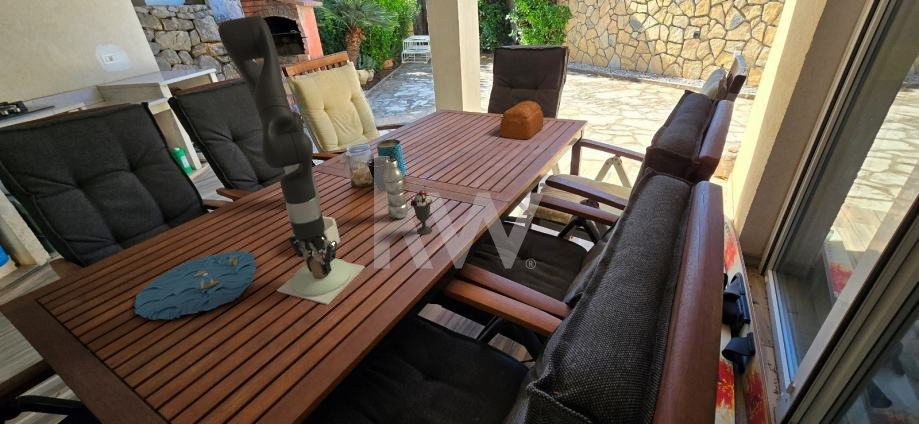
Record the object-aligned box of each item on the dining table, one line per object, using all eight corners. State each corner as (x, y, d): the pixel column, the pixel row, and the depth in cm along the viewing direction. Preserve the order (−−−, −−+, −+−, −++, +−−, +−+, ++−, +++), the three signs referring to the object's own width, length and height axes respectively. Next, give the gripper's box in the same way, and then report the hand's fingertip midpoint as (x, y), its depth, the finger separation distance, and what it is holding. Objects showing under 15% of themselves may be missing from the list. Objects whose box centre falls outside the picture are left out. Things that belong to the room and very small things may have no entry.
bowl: (292, 249, 120) (287, 232, 117) (317, 230, 129) (313, 214, 126) (323, 255, 116) (318, 238, 113) (346, 236, 125) (343, 219, 122)
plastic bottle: (405, 221, 131) (397, 164, 122) (386, 220, 133) (377, 164, 123) (411, 212, 137) (404, 157, 128) (392, 211, 138) (384, 157, 129)
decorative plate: (173, 344, 88) (163, 326, 85) (116, 301, 102) (106, 285, 100) (287, 273, 109) (282, 257, 107) (226, 246, 124) (220, 231, 122)
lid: (279, 289, 102) (273, 271, 99) (317, 257, 114) (313, 241, 111) (326, 301, 97) (322, 283, 94) (361, 266, 109) (358, 249, 106)
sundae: (438, 226, 127) (434, 183, 120) (430, 237, 122) (425, 192, 115) (419, 224, 129) (414, 181, 122) (410, 234, 124) (404, 190, 117)
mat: (277, 291, 102) (276, 290, 102) (318, 257, 115) (317, 256, 115) (327, 304, 96) (327, 303, 96) (364, 267, 109) (364, 266, 109)
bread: (544, 127, 219) (546, 100, 212) (529, 140, 200) (530, 111, 193) (515, 125, 226) (516, 98, 219) (498, 137, 208) (498, 108, 201)
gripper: (271, 217, 96) (289, 275, 104) (318, 226, 91) (333, 285, 99) (293, 204, 102) (308, 259, 110) (338, 211, 97) (351, 268, 105)
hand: (320, 271), depth 104 cm, fingers closed on lid, 4 cm apart
